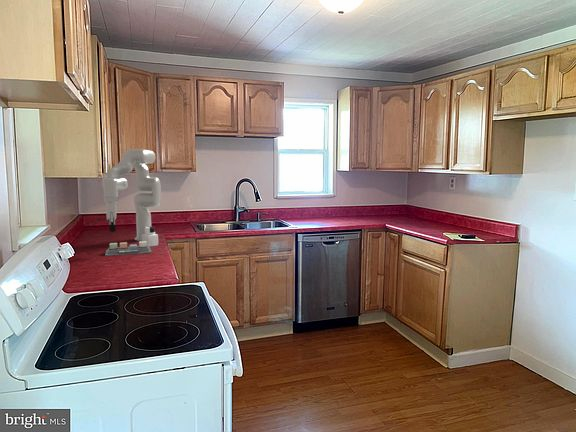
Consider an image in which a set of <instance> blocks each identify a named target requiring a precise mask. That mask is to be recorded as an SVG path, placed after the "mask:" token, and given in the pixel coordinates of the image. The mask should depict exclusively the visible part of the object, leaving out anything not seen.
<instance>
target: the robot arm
mask: <svg viewBox="0 0 576 432" xmlns="http://www.w3.org/2000/svg"><path fill="white" fill-rule="evenodd" d="M155 161H156V153H155V152H154V151H153V150H149V149H143V148H131V149H130V148H129V149H127V150H125V151H124V153H123V155H122V157H121V158H120V161H119V162H118V164H116V165H115V166H113V167H111V168H109V169H108V170H107V171H106V172H107V173H106V172H105V173H106V174H105V173H104V175H105V176H104V175H103V177H102V180H101V187H102V189H103V202H104V203H105V209H106V210H105V213H106V214H105V215H106V221H109V232H110V233H113V232H116V231H117V229H116V225H117V224H116V219H117V203H119V191H124V190H126V189H127V188H128V186H129V182H128V179H126V178H125V177H122V176H126V175H128V174H131V172H132V171H133V169H134V170H135V186H136V187H135V188H136V189H137V191H140V192H139V193H136V194H135V195H134V196H133V204H134V207H135V218H136V219H135V222H136V237H134V241H136V242H137V241H138V242H140V241H142V235H143V234H145V227H152V214H151V211H150V210H149V208H158V207H160V206H161V205H162V203H161V202H162V186H161V184H162V183H161V181H160V179H159V177H157V176H150V169H149V167H148V165H149V164H154V163H155ZM146 164H147V165H146ZM154 234H156V232H155V233H154Z"/></svg>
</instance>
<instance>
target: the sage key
mask: <svg viewBox="0 0 576 432" xmlns="http://www.w3.org/2000/svg"><path fill="white" fill-rule="evenodd" d="M117 247H118V242H111V243H109V248H110V249H116V248H117Z"/></svg>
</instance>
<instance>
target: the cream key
mask: <svg viewBox="0 0 576 432" xmlns="http://www.w3.org/2000/svg"><path fill="white" fill-rule="evenodd" d="M138 246H140V247H146V246H147V242H146V241H138Z"/></svg>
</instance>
